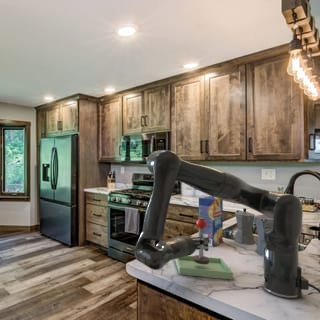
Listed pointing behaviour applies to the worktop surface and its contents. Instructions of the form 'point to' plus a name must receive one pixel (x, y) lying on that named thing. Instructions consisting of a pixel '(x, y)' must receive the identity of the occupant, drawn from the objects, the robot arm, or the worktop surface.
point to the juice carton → (212, 218)
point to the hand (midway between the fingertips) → (205, 239)
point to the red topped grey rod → (200, 258)
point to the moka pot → (261, 231)
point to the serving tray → (204, 268)
